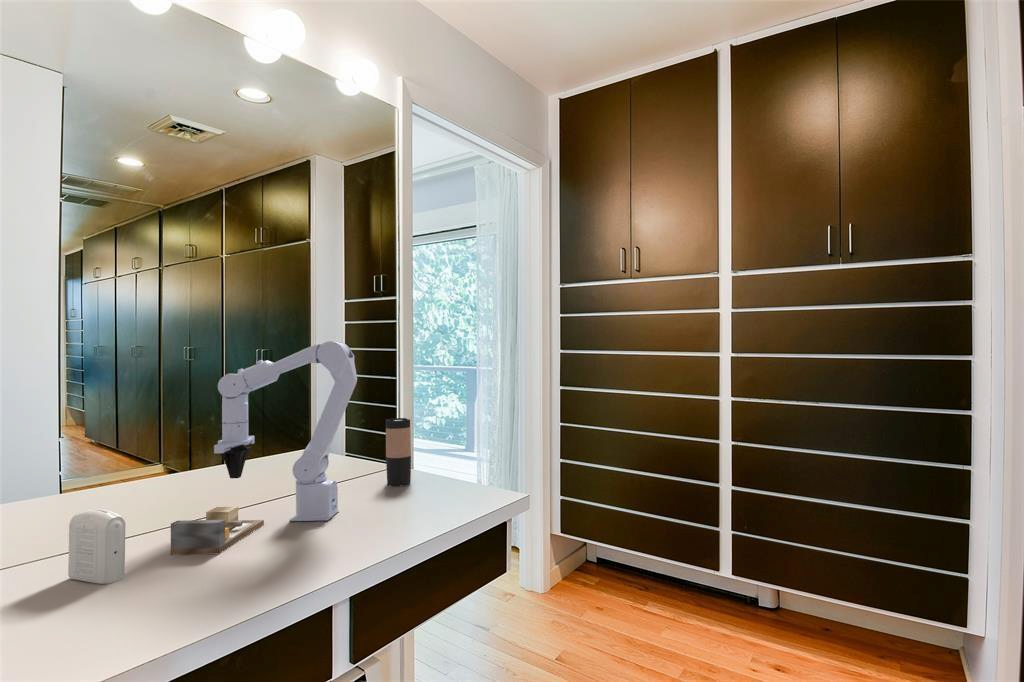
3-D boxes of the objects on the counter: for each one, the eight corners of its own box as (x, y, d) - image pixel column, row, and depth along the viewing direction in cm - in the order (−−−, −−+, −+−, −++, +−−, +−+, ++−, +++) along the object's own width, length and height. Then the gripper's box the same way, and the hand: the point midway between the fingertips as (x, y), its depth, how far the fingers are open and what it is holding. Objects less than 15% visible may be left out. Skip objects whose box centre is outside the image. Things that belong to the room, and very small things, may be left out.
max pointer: (229, 537, 109) (229, 527, 109) (225, 539, 107) (225, 529, 107) (217, 537, 109) (217, 527, 109) (213, 539, 107) (213, 530, 107)
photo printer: (129, 576, 94) (129, 508, 94) (104, 586, 90) (104, 515, 90) (89, 570, 97) (90, 504, 97) (63, 580, 93) (64, 511, 93)
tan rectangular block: (249, 524, 118) (249, 506, 118) (239, 529, 114) (239, 511, 114) (216, 524, 118) (216, 507, 118) (206, 530, 114) (206, 512, 114)
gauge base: (263, 525, 122) (263, 498, 122) (219, 553, 104) (219, 522, 104) (222, 525, 122) (222, 499, 122) (170, 554, 104) (170, 523, 104)
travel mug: (382, 486, 157) (381, 420, 158) (392, 480, 165) (391, 418, 166) (406, 486, 156) (405, 420, 157) (414, 480, 164) (414, 417, 164)
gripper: (235, 419, 134) (235, 471, 134) (201, 426, 120) (201, 485, 119) (262, 418, 134) (262, 471, 134) (231, 425, 120) (231, 484, 119)
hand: (235, 477), depth 126 cm, fingers closed
